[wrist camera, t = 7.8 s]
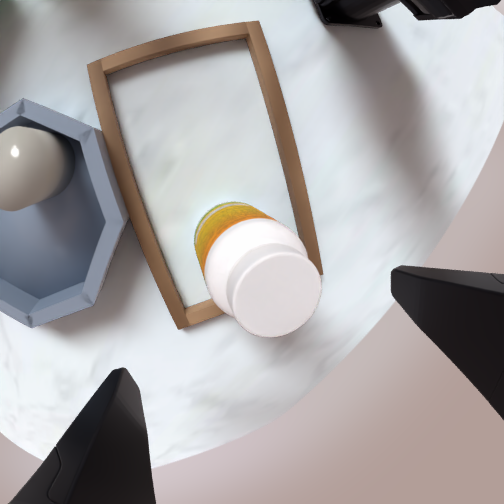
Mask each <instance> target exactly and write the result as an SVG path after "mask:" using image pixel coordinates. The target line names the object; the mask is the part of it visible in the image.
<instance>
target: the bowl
mask: <svg viewBox="0 0 504 504" xmlns="http://www.w3.org/2000/svg"><path fill="white" fill-rule="evenodd" d="M15 126H21V127H27V128H33V129H38V130H43V131H48V132H52V133H57V134H60V135H62V136H64V137H65V138H66V139H67V140H68V141H69V142H70V144H71V146H72V148H73V150H74V154H75V170H74V174H73V177H72V179H71V181H70V183H69V185H68V186H67V187H66V189H65V190H64V191H63V192H61V193H60V194H58V195H57V196H54V197H52V198H49V199H46V200H44V201H41V202H38V203H36V204H33V205H31V206H28V207H26V208H23V209H21V210H18V211H12V212H11V211H5V210H2V209H0V311H1V312H3V313H5V314H6V315H8V316H10V317H12V318H13V319H15V320H17V321H19V322H21V323H23V324H24V325H26V326H28V327H30V328H34V327H36V326H39V325H42V324H45V323H47V322H50V321H53V320H55V319H58V318H61V317H64V316H66V315H69V314H72V313H74V312H77V311H80V310H83V309H85V308H88V307H91V306H93V305H94V303H95V301H96V299H97V297H98V294H99V292H100V290H101V288H102V286H103V283H104V280H105V277H106V275H107V272H108V269H109V266H110V263H111V261H112V258H113V255H114V253H115V250H116V248H117V245H118V243H119V240H120V238H121V235H122V233H123V230H124V228H125V226H126V223H127V221H128V219H129V214H128V211H127V208H126V206H125V203H124V200H123V197H122V194H121V191H120V188H119V185H118V182H117V179H116V176H115V173H114V170H113V167H112V163H111V160H110V157H109V153H108V150H107V147H106V143H105V140H104V136H103V132H102V131H100V130H98V129H96V128H94V127H91V126H89V125H87V124H84V123H82V122H80V121H78V120H75V119H73V118H71V117H68V116H66V115H63V114H61V113H59V112H56V111H54V110H52V109H49V108H47V107H44V106H42V105H39V104H37V103H34V102H32V101H29V100H26V99H24V98H23V99H21V100H19V101H18V102H16V103H15V104H13V105H12V106H10V107H9V108H7V109H6V110H4V111H3V112H1V113H0V134H1V133H2V132H3V131H5V130H7V129H9V128H11V127H15Z"/></svg>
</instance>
